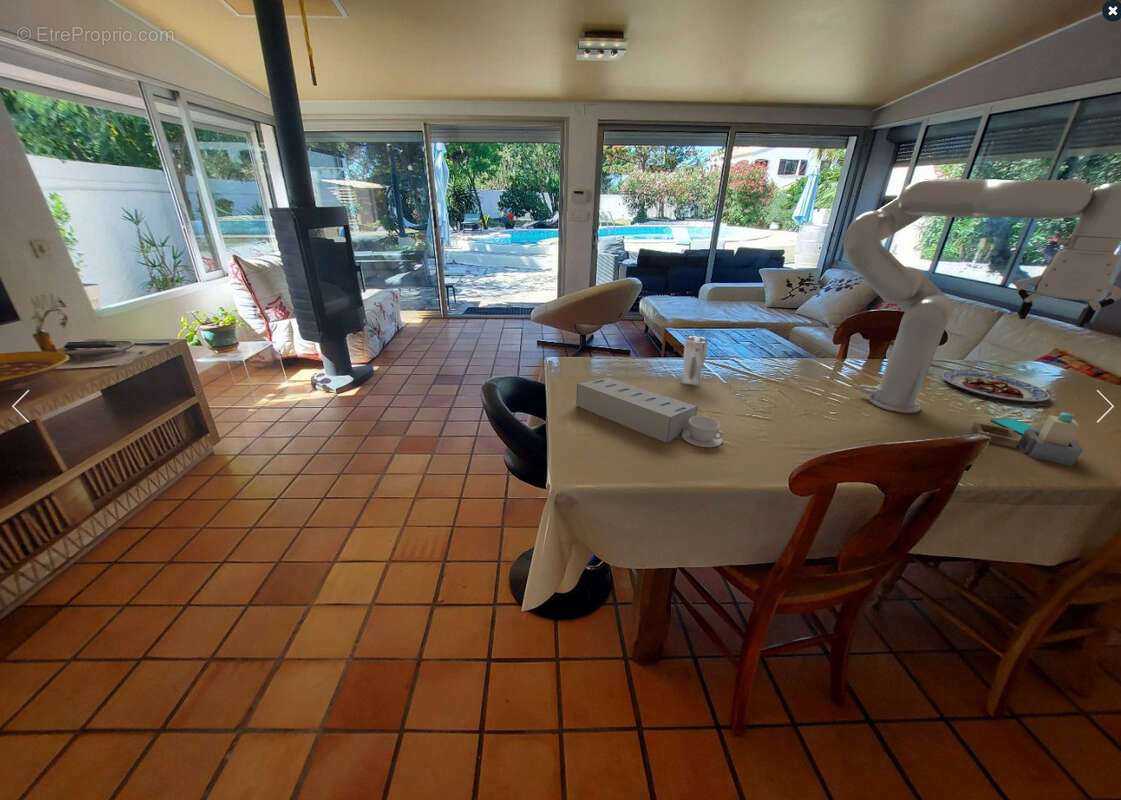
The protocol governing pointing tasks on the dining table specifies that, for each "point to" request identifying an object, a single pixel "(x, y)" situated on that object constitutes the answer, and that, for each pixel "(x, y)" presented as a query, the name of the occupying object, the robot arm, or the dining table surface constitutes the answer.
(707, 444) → the teacup
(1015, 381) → the ceramic plate
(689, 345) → the beer glass
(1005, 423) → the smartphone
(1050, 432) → the plug
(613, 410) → the slotted grey box
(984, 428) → the holster
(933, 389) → the dining table surface
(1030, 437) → the socket
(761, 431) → the dining table surface
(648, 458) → the dining table surface
